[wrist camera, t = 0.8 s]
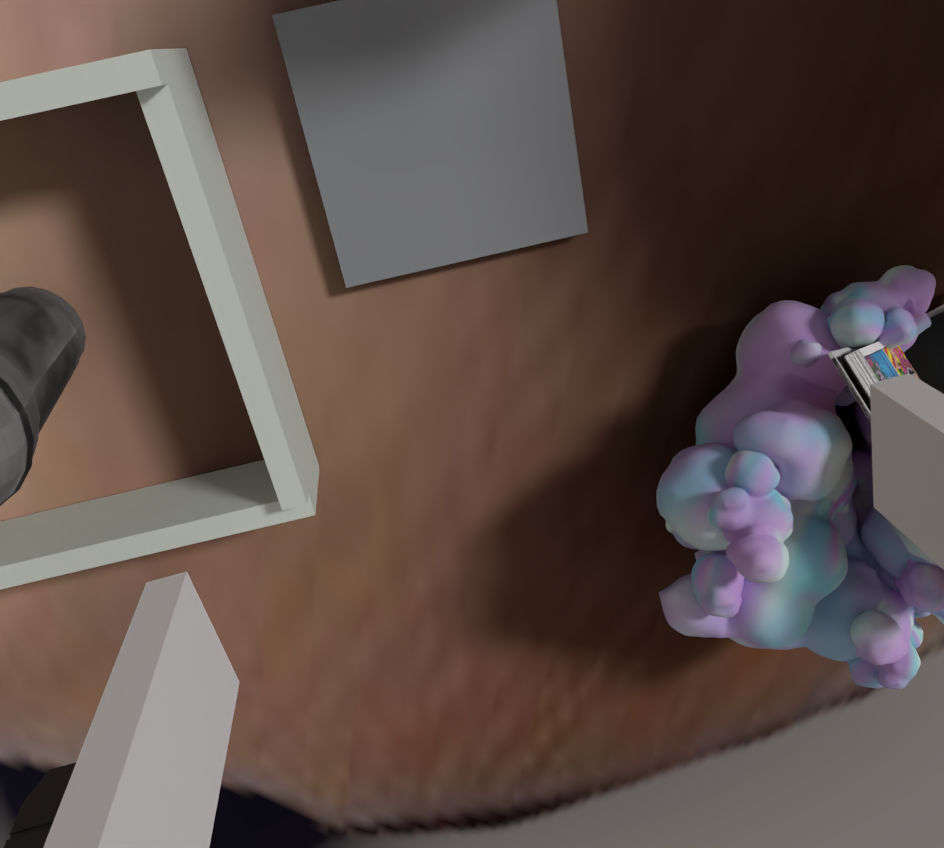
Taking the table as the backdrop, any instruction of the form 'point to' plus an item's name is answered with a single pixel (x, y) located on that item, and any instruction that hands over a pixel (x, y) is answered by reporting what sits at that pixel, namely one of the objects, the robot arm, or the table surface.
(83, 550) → the frame
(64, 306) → the beverage cup
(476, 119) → the slate tile
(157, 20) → the table surface
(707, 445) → the pastel lumpy cloud blob
